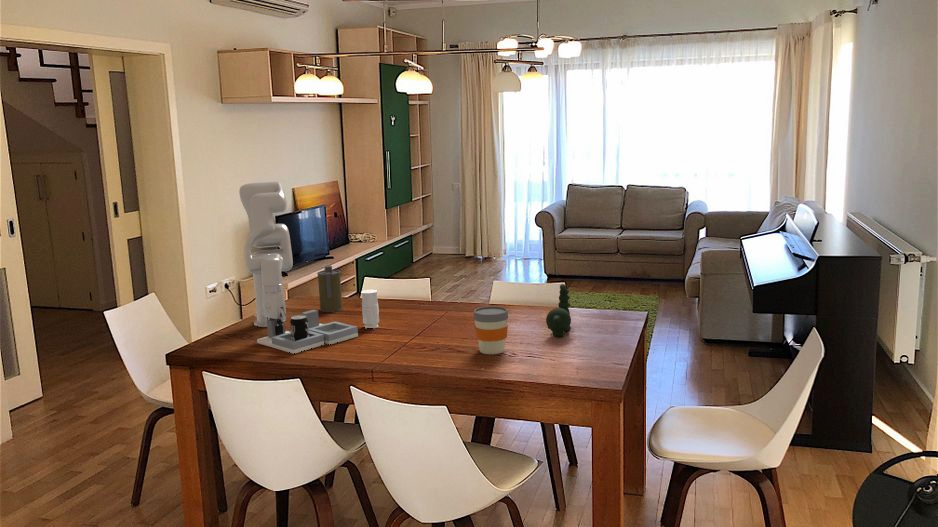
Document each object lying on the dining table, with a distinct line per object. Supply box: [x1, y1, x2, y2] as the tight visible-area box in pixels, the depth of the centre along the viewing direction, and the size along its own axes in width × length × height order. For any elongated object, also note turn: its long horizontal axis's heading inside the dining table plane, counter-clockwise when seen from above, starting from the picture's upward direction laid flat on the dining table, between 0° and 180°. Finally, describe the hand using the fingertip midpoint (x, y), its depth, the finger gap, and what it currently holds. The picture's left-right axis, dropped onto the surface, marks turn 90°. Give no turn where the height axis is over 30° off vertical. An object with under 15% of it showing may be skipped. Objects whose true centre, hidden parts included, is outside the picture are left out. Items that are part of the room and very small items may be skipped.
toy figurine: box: [545, 283, 572, 339], centre depth 296 cm, size 9×19×25 cm
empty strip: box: [300, 309, 359, 346], centre depth 305 cm, size 24×14×8 cm, turn 48°
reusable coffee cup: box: [473, 305, 509, 355], centre depth 278 cm, size 13×13×15 cm
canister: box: [316, 264, 344, 313], centre depth 347 cm, size 11×10×20 cm
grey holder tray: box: [256, 319, 325, 355], centre depth 296 cm, size 24×14×8 cm, turn 48°
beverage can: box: [289, 314, 309, 341], centre depth 291 cm, size 7×7×12 cm
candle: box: [360, 289, 380, 329], centre depth 316 cm, size 7×7×15 cm
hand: (276, 333), depth 302 cm, fingers closed on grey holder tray, 3 cm apart
